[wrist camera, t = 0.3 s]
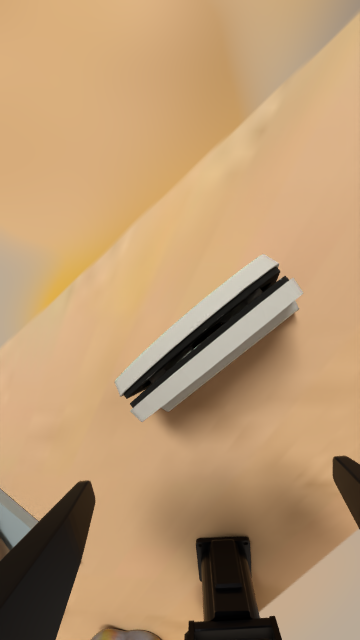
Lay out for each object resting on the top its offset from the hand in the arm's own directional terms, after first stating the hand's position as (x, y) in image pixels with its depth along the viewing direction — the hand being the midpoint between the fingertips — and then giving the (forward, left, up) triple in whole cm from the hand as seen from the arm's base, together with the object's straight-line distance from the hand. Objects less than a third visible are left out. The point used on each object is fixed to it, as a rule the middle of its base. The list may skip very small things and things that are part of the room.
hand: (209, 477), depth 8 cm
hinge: (+1, -1, -15) cm, 15 cm away
